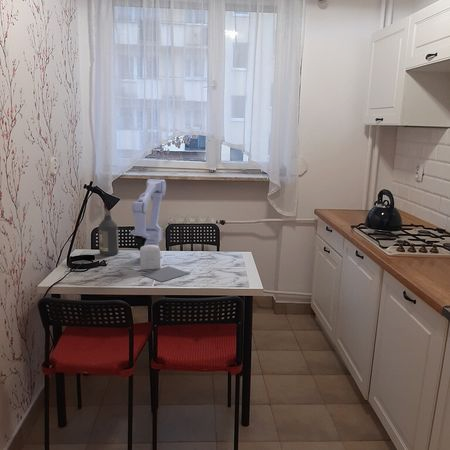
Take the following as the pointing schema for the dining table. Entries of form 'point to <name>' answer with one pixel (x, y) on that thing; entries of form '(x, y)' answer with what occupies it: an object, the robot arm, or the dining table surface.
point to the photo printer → (150, 257)
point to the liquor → (108, 235)
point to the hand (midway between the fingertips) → (140, 250)
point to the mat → (165, 274)
